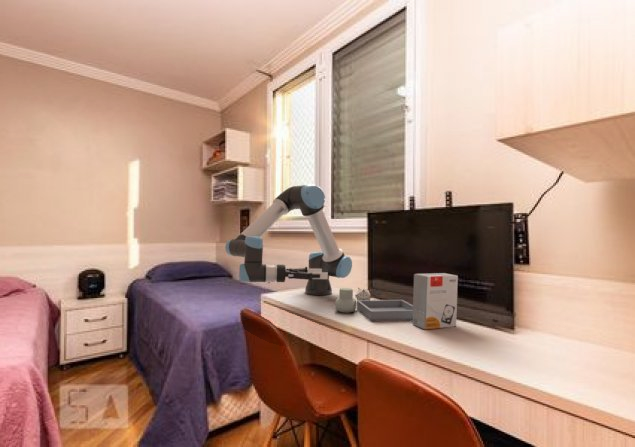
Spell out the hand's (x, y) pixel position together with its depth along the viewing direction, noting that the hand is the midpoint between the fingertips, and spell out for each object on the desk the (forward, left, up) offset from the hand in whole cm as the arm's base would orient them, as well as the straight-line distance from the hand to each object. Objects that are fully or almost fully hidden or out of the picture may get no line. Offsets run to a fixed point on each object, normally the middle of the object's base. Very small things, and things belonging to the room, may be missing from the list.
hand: (324, 273), depth 150 cm
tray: (+7, +27, -17) cm, 33 cm away
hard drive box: (+25, +39, -17) cm, 49 cm away
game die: (-12, +22, -17) cm, 30 cm away
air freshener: (0, +10, -17) cm, 20 cm away
